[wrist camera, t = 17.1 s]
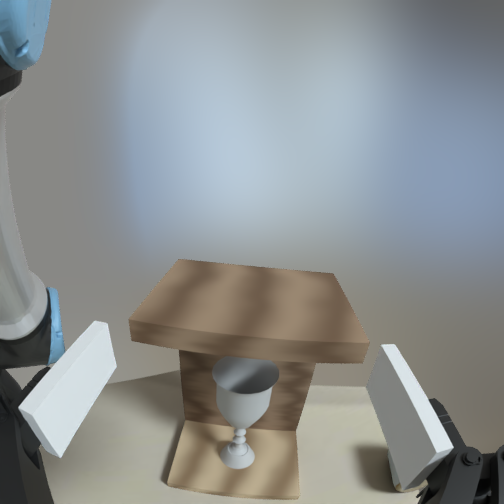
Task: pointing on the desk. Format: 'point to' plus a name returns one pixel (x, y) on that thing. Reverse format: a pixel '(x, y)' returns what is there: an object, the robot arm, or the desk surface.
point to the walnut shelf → (253, 347)
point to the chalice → (242, 401)
